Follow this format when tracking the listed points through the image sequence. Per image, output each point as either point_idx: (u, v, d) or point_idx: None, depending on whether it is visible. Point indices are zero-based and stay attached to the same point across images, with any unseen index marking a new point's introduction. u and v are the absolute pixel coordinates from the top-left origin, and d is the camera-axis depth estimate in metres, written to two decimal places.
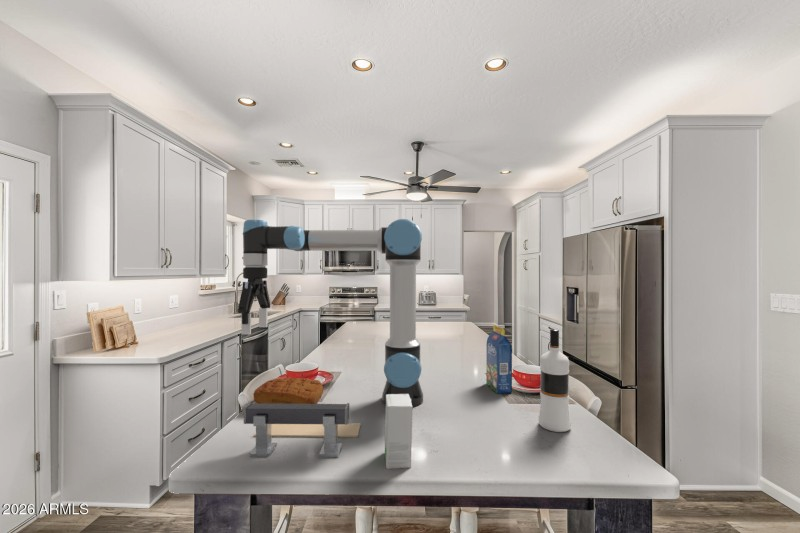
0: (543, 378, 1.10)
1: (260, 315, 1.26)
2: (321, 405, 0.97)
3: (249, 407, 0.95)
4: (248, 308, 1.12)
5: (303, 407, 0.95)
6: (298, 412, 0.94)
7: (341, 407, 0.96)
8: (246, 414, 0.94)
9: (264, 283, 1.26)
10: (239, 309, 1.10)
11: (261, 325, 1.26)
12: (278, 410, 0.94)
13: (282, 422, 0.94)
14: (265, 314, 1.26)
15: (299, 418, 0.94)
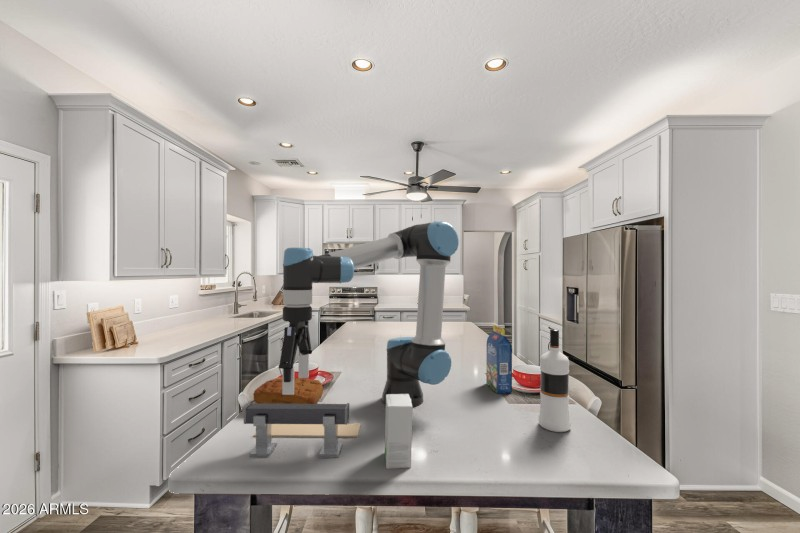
0: (543, 378, 1.10)
1: (300, 363, 1.02)
2: (321, 405, 0.97)
3: (249, 407, 0.95)
4: (291, 361, 0.88)
5: (303, 407, 0.95)
6: (298, 412, 0.94)
7: (341, 407, 0.96)
8: (246, 414, 0.94)
9: (306, 324, 1.02)
10: (281, 364, 0.86)
11: (301, 376, 1.02)
12: (278, 410, 0.94)
13: (282, 422, 0.94)
14: (306, 362, 1.02)
15: (299, 418, 0.94)
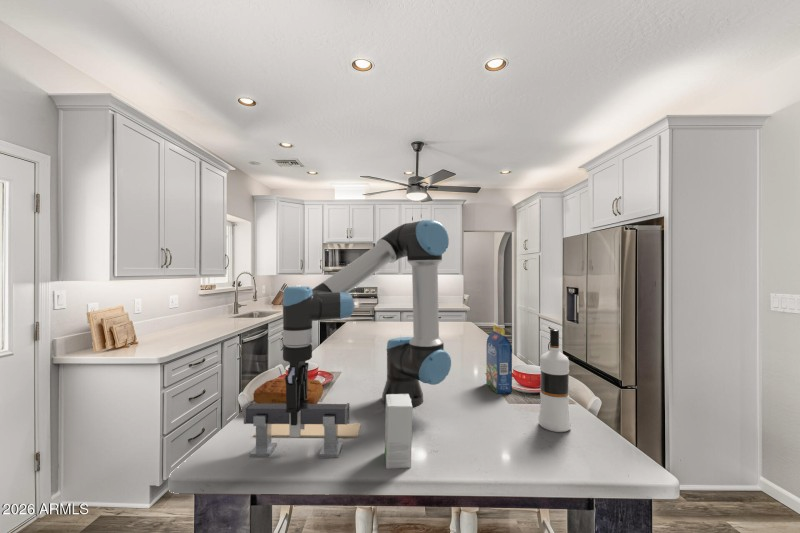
0: (543, 378, 1.10)
1: None
2: (321, 405, 0.97)
3: (249, 407, 0.95)
4: (297, 407, 0.93)
5: (303, 407, 0.95)
6: None
7: (341, 407, 0.96)
8: (246, 414, 0.94)
9: None
10: (288, 410, 0.91)
11: None
12: (278, 410, 0.94)
13: (282, 422, 0.94)
14: None
15: None
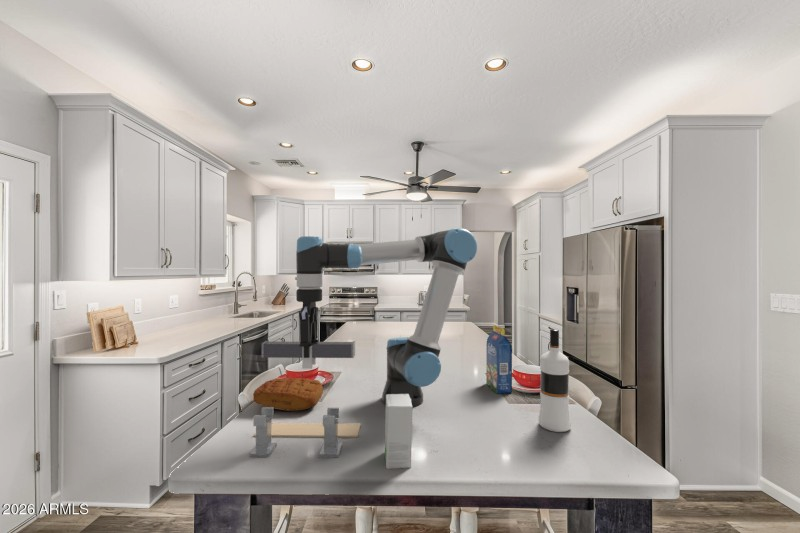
0: (543, 378, 1.10)
1: None
2: (330, 342, 1.09)
3: (266, 343, 1.07)
4: (309, 341, 1.05)
5: (314, 343, 1.07)
6: None
7: (348, 343, 1.08)
8: (264, 349, 1.06)
9: None
10: (301, 343, 1.03)
11: None
12: (292, 345, 1.06)
13: (296, 356, 1.06)
14: None
15: None
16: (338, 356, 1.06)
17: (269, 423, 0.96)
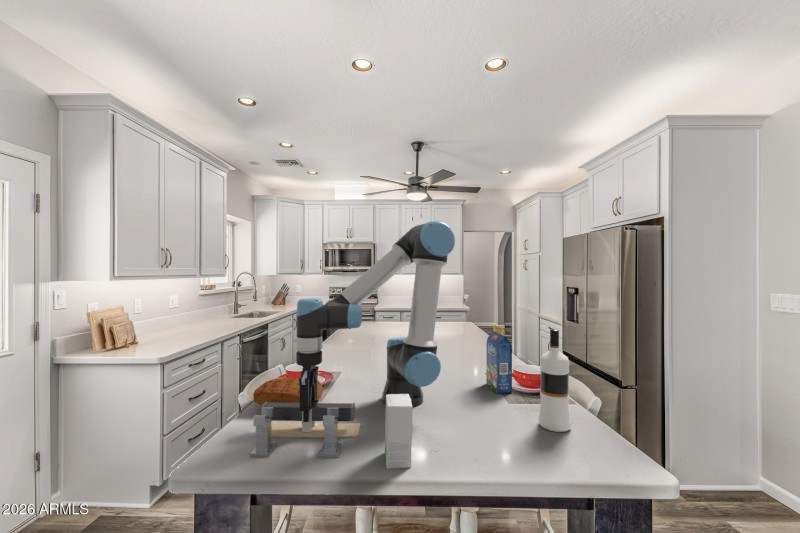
0: (543, 378, 1.10)
1: None
2: (330, 404, 1.09)
3: (266, 406, 1.07)
4: (309, 406, 1.05)
5: (314, 406, 1.07)
6: None
7: (347, 406, 1.08)
8: None
9: (316, 369, 1.13)
10: (301, 409, 1.03)
11: None
12: (292, 408, 1.06)
13: (295, 419, 1.06)
14: None
15: None
16: (338, 419, 1.06)
17: (269, 423, 0.96)
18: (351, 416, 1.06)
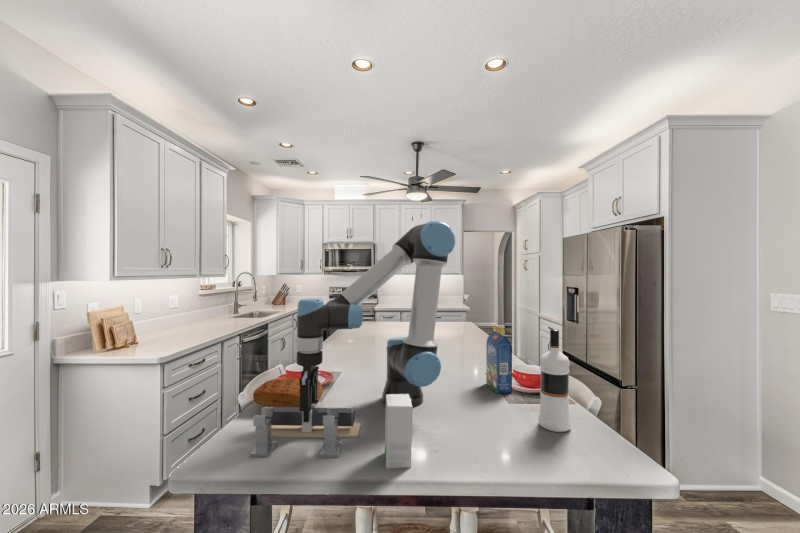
0: (543, 378, 1.10)
1: None
2: None
3: None
4: (309, 406, 1.04)
5: (314, 411, 1.07)
6: None
7: (347, 410, 1.08)
8: None
9: (316, 369, 1.13)
10: (301, 409, 1.03)
11: None
12: (292, 413, 1.06)
13: (295, 424, 1.06)
14: None
15: None
16: (338, 424, 1.06)
17: (269, 423, 0.96)
18: (351, 421, 1.06)
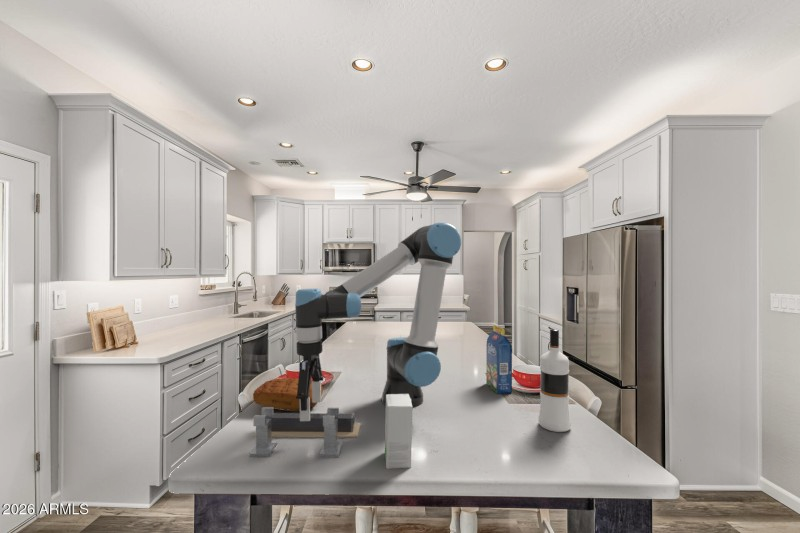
0: (543, 378, 1.10)
1: (313, 389, 1.15)
2: None
3: None
4: (307, 392, 1.01)
5: (314, 416, 1.07)
6: (310, 421, 1.06)
7: (347, 416, 1.08)
8: None
9: (317, 354, 1.14)
10: (298, 395, 0.98)
11: (315, 400, 1.15)
12: (292, 419, 1.06)
13: (295, 430, 1.06)
14: (319, 388, 1.15)
15: (310, 426, 1.06)
16: (338, 430, 1.06)
17: (269, 423, 0.96)
18: (351, 426, 1.06)
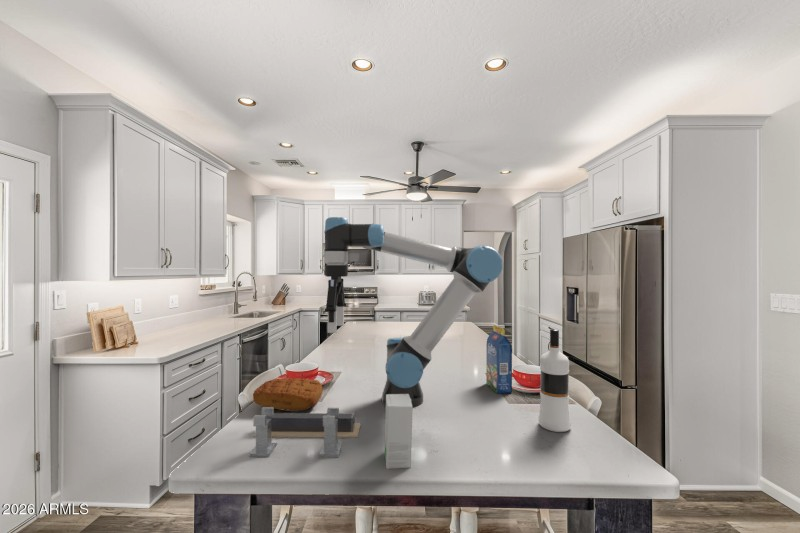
0: (543, 378, 1.10)
1: (337, 313, 1.26)
2: None
3: None
4: (334, 306, 1.11)
5: (314, 416, 1.07)
6: (310, 421, 1.06)
7: (347, 416, 1.08)
8: None
9: (341, 281, 1.25)
10: (327, 307, 1.09)
11: (338, 324, 1.26)
12: (292, 419, 1.06)
13: (295, 430, 1.06)
14: (342, 312, 1.26)
15: (310, 426, 1.06)
16: (338, 430, 1.06)
17: (269, 423, 0.96)
18: (351, 426, 1.06)
